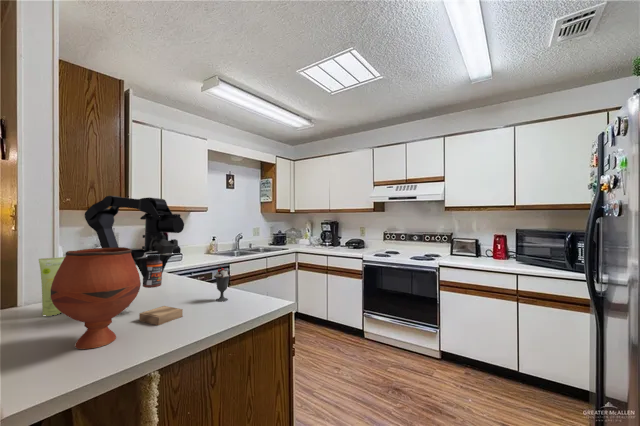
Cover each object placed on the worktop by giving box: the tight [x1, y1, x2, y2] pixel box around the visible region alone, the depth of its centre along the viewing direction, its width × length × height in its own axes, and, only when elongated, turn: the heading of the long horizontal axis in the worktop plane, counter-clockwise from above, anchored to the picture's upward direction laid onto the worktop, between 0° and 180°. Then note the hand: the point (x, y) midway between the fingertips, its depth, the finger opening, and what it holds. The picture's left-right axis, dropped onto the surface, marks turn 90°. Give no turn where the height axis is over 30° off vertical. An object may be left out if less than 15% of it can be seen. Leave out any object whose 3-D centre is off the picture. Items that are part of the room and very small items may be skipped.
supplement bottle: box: [142, 254, 163, 289], centre depth 101 cm, size 6×6×11 cm
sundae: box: [213, 264, 232, 303], centre depth 117 cm, size 7×7×15 cm
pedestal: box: [138, 305, 184, 326], centre depth 94 cm, size 9×9×3 cm
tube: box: [38, 256, 65, 317], centre depth 96 cm, size 6×5×20 cm
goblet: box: [51, 246, 142, 350], centre depth 76 cm, size 19×19×25 cm
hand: (152, 275), depth 101 cm, fingers closed on supplement bottle, 6 cm apart
